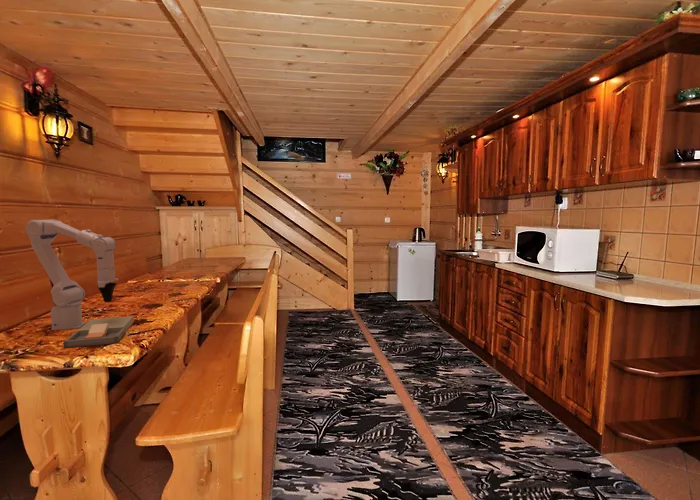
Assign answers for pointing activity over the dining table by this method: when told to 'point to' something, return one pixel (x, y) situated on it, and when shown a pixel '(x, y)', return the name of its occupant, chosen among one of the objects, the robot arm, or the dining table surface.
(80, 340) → the box
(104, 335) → the terracotta tile
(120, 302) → the dining table surface
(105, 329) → the cream tile
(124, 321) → the beige square slab
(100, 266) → the robot arm
